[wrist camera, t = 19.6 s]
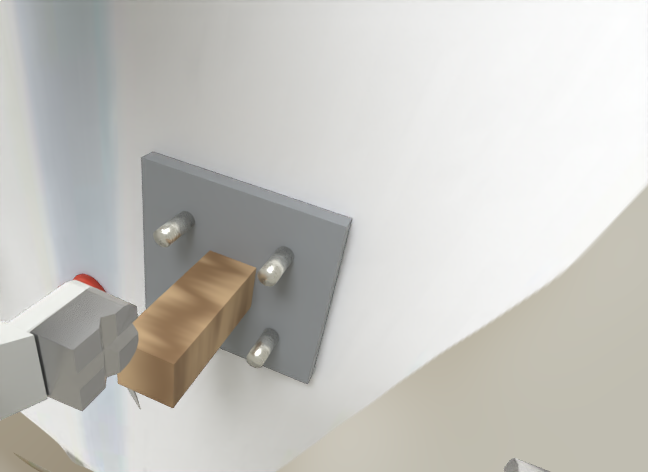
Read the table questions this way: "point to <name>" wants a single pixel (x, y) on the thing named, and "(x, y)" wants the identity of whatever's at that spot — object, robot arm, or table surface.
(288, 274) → the plate
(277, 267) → the standoff pins
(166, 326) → the oak block
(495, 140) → the table surface
